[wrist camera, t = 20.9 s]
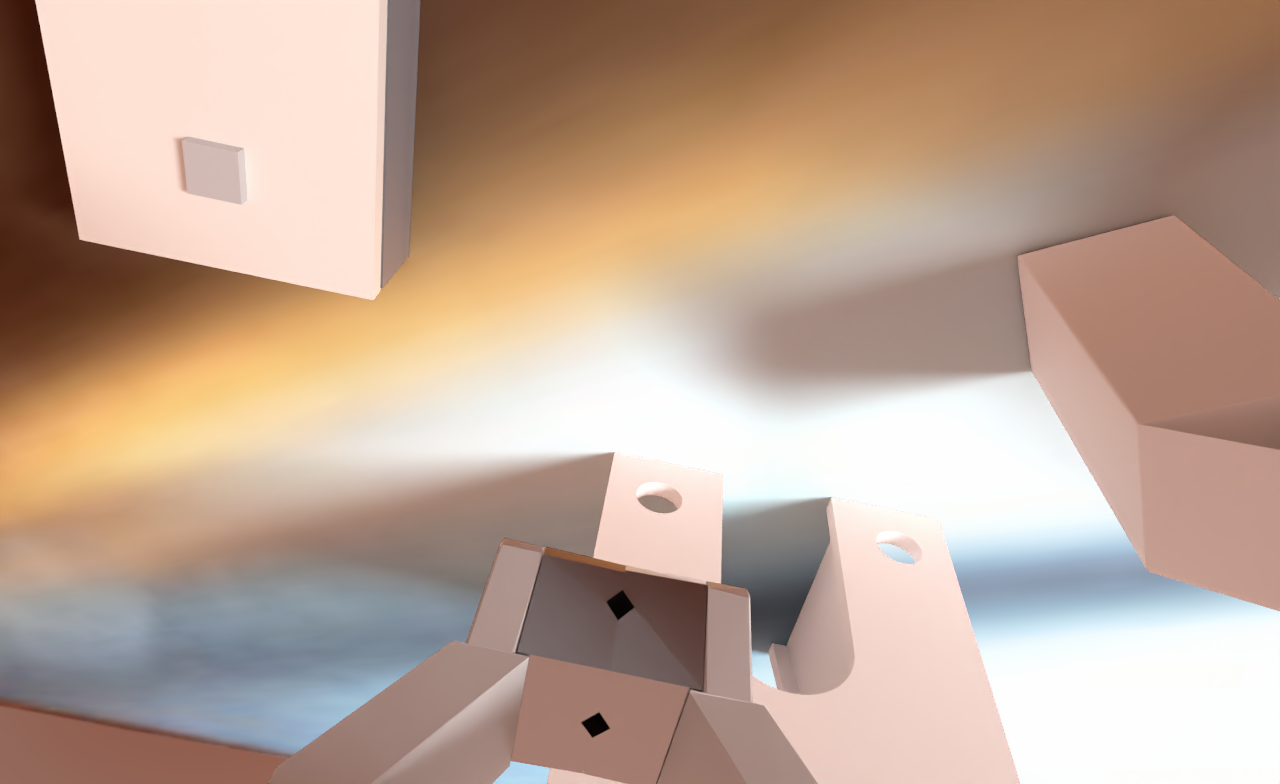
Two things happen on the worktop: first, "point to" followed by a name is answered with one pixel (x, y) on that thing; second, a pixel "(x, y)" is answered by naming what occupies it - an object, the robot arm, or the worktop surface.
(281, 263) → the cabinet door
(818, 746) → the white bracket plate
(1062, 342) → the milk carton
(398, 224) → the shallow grey box
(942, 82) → the worktop surface
